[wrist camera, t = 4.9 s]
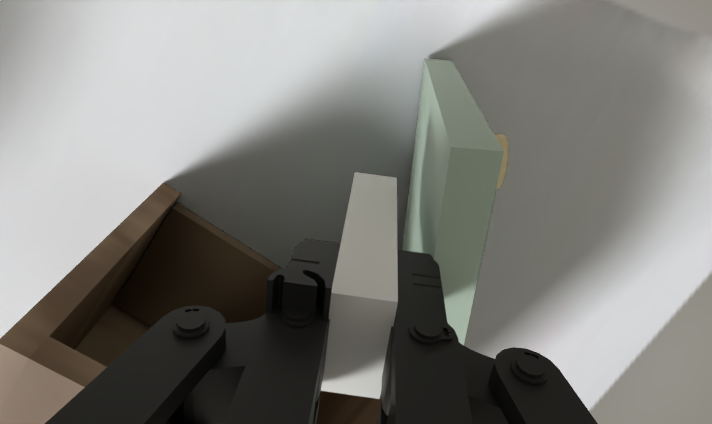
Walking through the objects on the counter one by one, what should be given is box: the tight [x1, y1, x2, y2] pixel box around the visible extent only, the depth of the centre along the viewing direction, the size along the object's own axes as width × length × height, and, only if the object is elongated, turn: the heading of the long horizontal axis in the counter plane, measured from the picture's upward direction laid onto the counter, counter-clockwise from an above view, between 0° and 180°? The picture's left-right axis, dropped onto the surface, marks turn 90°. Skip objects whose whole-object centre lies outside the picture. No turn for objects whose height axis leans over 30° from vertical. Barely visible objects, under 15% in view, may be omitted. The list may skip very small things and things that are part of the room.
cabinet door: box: [402, 58, 508, 345], centre depth 20 cm, size 15×2×12 cm, turn 177°
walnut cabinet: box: [0, 183, 381, 424], centre depth 24 cm, size 15×10×12 cm, turn 54°
